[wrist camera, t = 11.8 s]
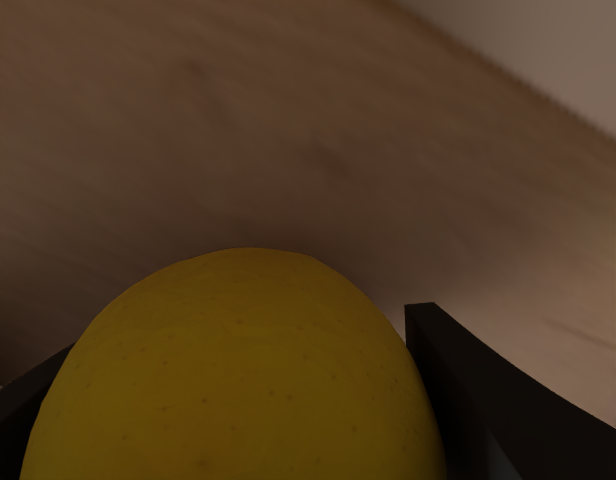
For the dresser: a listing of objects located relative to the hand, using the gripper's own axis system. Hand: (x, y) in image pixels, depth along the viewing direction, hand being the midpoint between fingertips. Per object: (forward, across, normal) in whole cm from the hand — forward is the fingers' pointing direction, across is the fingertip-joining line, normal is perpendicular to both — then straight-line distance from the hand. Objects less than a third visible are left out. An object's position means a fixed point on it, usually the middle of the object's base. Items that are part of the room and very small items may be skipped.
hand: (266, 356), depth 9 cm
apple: (+2, 0, 0) cm, 2 cm away
